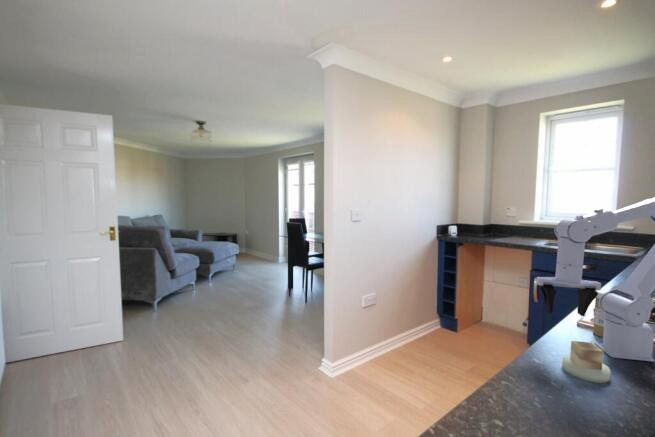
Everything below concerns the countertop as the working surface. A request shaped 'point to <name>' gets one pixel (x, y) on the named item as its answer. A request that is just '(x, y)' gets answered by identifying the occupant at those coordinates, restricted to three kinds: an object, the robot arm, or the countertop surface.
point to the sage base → (586, 371)
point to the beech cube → (586, 355)
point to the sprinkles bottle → (598, 316)
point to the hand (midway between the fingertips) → (564, 313)
